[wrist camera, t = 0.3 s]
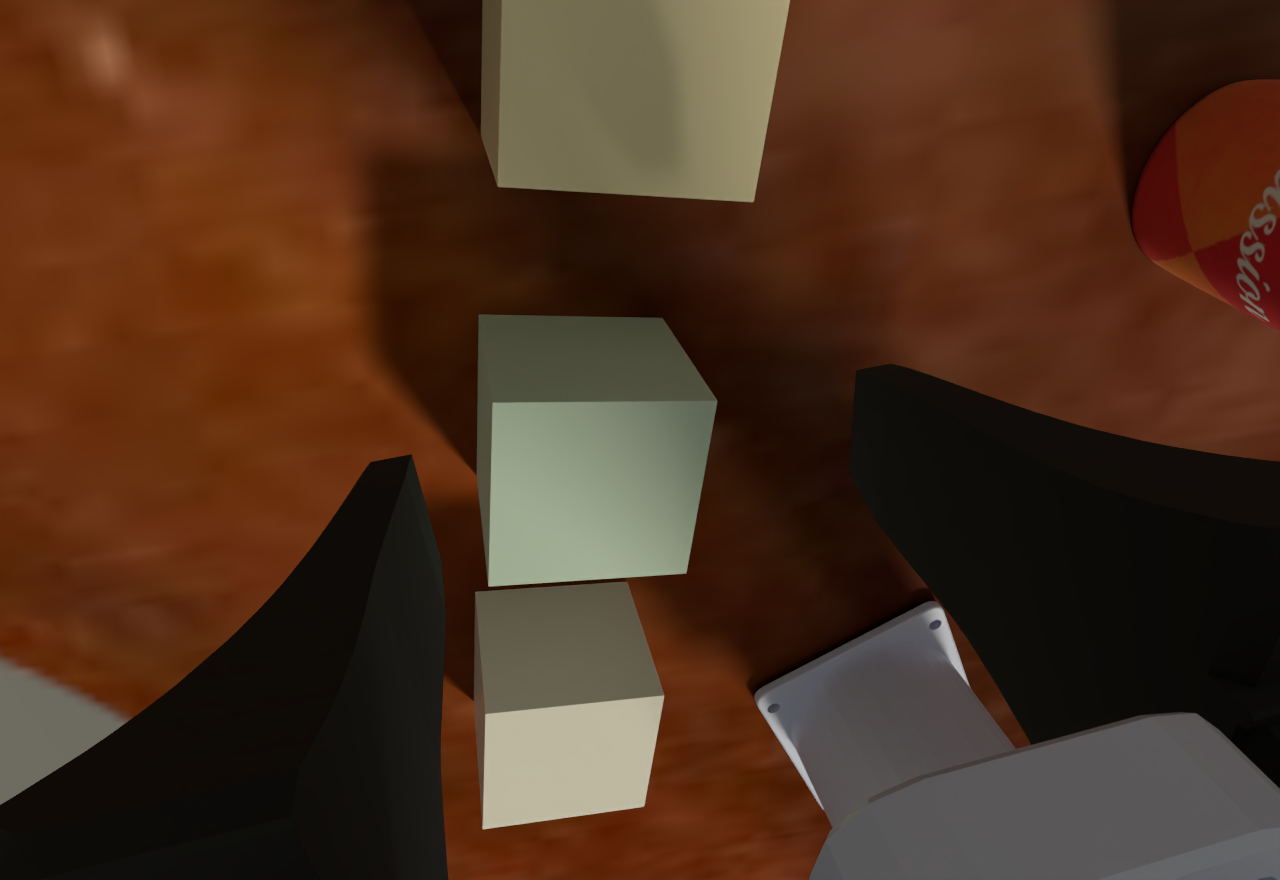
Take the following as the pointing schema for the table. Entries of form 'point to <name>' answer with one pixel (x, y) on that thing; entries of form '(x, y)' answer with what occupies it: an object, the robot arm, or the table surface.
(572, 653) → the cream block
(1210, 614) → the robot arm
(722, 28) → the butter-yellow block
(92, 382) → the table surface
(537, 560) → the sage green block
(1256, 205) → the paper cup
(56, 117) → the table surface
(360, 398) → the table surface
